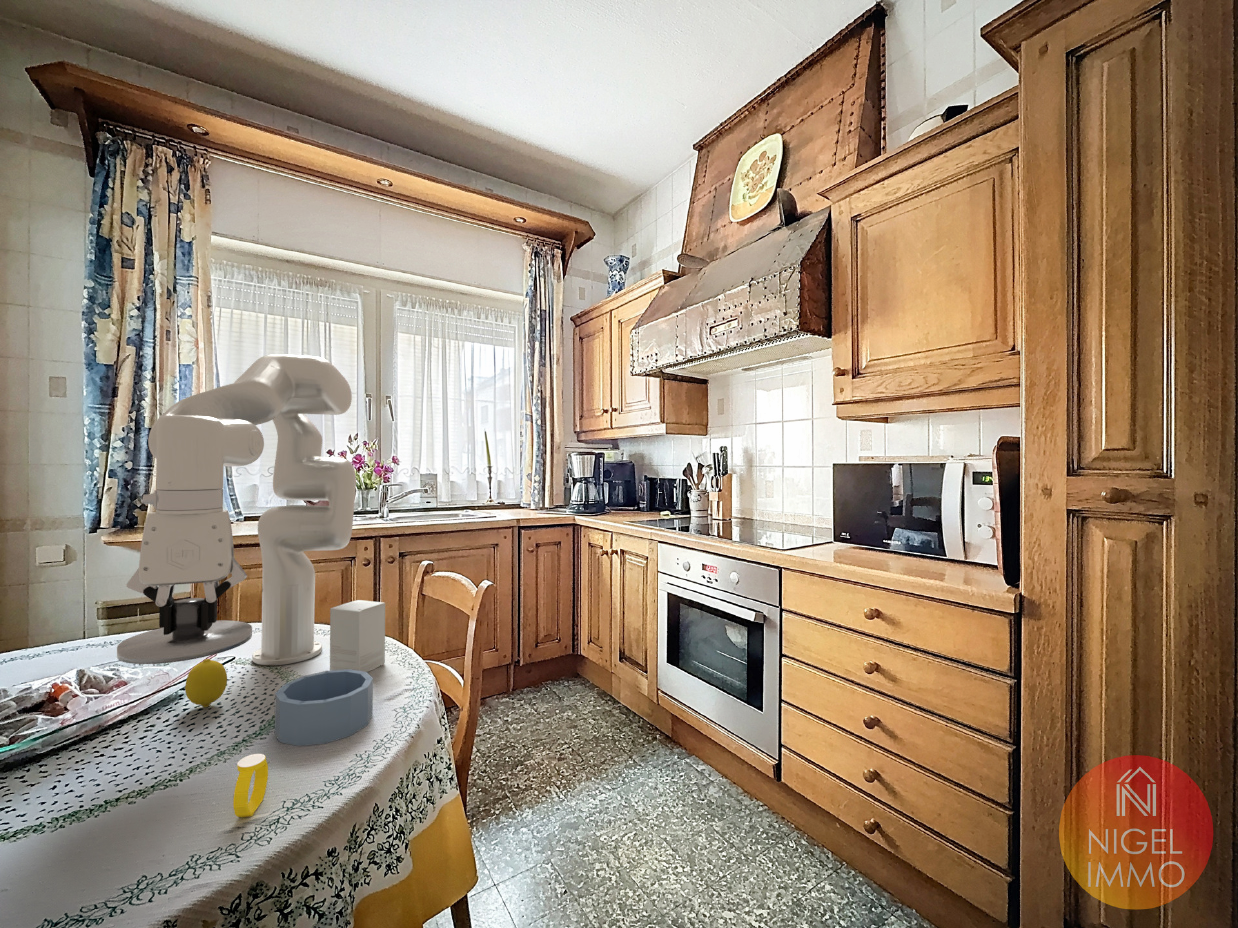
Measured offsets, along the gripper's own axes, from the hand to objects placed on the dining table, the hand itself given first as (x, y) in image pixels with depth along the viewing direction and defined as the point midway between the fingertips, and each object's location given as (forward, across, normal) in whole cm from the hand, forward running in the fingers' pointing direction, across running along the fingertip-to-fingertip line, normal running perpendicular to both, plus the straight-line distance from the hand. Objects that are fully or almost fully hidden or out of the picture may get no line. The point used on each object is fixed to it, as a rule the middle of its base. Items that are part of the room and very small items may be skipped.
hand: (188, 628), depth 77 cm
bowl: (+17, +17, 0) cm, 24 cm away
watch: (+17, +11, -20) cm, 28 cm away
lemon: (+17, -1, +14) cm, 22 cm away
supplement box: (+17, +22, +23) cm, 36 cm away
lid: (+2, 0, 0) cm, 2 cm away
